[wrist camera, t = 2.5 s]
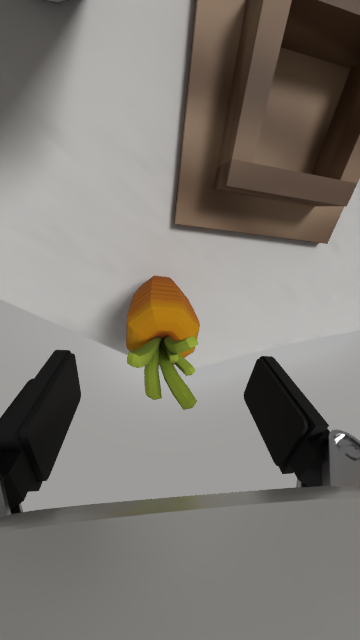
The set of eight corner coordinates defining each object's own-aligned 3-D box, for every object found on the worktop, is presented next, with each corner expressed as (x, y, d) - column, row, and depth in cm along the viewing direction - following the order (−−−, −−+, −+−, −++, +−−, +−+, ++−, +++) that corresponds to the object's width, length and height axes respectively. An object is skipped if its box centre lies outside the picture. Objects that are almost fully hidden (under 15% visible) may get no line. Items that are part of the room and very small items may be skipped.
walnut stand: (205, -93, 11) (233, -256, 7) (428, -3, 14) (537, -86, 10) (174, 222, 19) (179, 226, 15) (320, 242, 21) (357, 249, 17)
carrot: (128, 266, 20) (84, 370, 7) (175, 253, 20) (214, 335, 7) (144, 308, 23) (132, 440, 10) (186, 296, 23) (229, 415, 10)
